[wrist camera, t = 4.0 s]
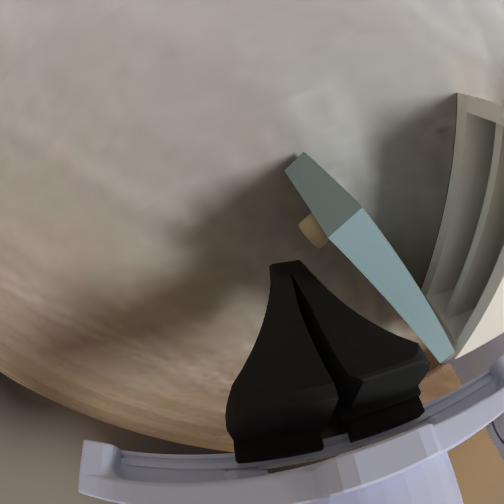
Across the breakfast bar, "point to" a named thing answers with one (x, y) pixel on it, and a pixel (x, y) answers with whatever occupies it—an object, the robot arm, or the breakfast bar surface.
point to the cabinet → (471, 232)
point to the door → (364, 249)
